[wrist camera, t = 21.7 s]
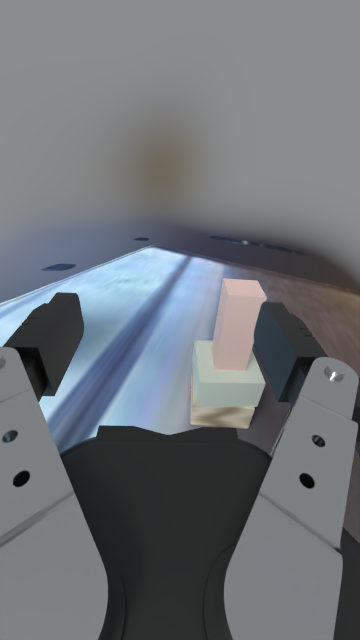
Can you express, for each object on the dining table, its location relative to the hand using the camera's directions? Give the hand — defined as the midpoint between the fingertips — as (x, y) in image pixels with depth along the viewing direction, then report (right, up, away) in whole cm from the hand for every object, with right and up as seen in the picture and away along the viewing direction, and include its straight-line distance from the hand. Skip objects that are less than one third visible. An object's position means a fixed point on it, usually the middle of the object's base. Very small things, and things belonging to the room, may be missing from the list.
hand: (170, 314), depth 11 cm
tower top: (+7, -10, +30) cm, 32 cm away
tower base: (+7, -14, +32) cm, 36 cm away
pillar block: (+8, -6, +27) cm, 29 cm away
